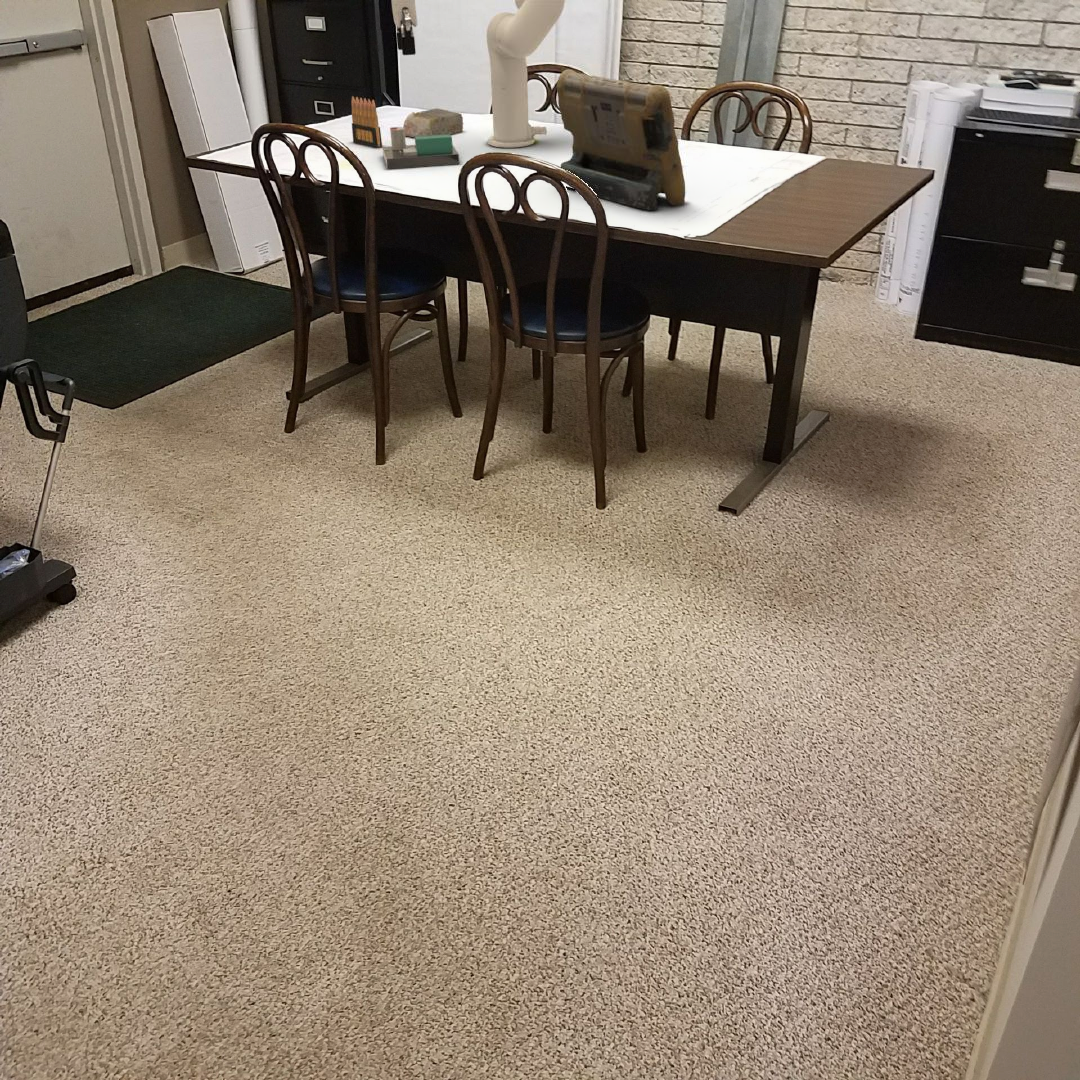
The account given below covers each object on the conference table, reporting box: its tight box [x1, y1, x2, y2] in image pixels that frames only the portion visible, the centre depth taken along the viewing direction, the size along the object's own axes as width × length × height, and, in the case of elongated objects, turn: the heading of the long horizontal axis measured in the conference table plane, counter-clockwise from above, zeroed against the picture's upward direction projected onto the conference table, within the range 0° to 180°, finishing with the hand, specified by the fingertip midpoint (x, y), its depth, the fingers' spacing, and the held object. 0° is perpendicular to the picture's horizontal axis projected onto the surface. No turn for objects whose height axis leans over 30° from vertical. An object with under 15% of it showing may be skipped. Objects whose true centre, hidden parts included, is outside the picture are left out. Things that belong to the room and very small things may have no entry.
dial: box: [389, 126, 407, 151], centre depth 270 cm, size 4×4×5 cm
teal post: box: [403, 134, 453, 156], centre depth 266 cm, size 4×12×4 cm, turn 102°
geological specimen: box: [402, 108, 464, 138], centre depth 298 cm, size 11×6×15 cm
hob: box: [381, 143, 460, 170], centre depth 271 cm, size 18×14×3 cm
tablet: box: [556, 68, 686, 212], centre depth 232 cm, size 33×14×25 cm, turn 44°
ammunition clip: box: [351, 95, 383, 149], centre depth 285 cm, size 11×2×12 cm, turn 45°
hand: (406, 52), depth 264 cm, fingers open, 9 cm apart
